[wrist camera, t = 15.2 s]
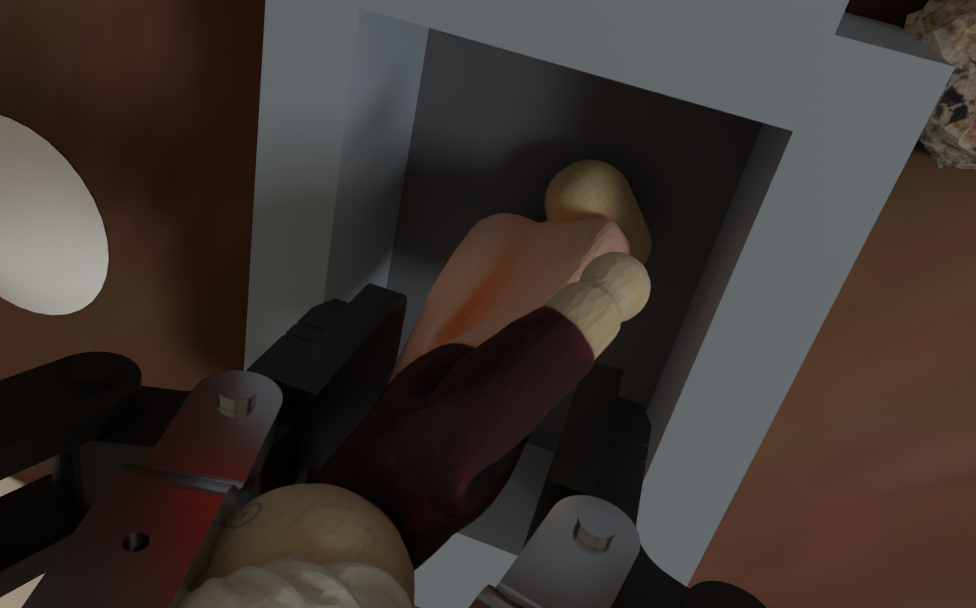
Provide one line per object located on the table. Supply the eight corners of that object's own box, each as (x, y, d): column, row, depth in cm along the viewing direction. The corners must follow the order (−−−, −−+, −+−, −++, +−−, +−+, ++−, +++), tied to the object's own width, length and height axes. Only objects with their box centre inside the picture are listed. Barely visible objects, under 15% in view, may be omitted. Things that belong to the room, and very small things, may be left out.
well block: (936, -57, 14) (1013, -45, 10) (649, 559, 23) (632, 691, 19) (389, -191, 16) (278, -223, 12) (313, 434, 24) (234, 533, 20)
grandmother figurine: (567, 77, 16) (70, 411, 5) (723, 182, 16) (540, 756, 5) (416, 331, 20) (-28, 803, 9) (537, 417, 20) (223, 998, 9)
